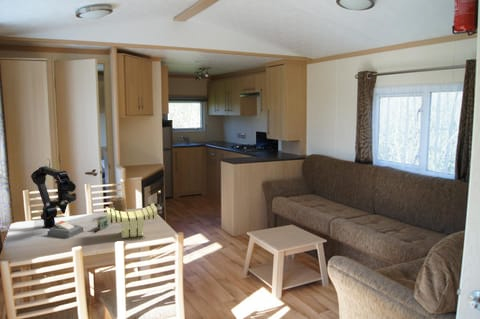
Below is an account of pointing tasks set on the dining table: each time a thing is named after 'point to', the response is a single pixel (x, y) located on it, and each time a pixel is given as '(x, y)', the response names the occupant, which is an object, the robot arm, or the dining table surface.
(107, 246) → the dining table surface
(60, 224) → the breaker switch
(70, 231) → the frame
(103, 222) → the handheld radio
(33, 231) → the dining table surface
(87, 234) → the dining table surface
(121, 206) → the stone cup
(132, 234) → the slatted curved stool
